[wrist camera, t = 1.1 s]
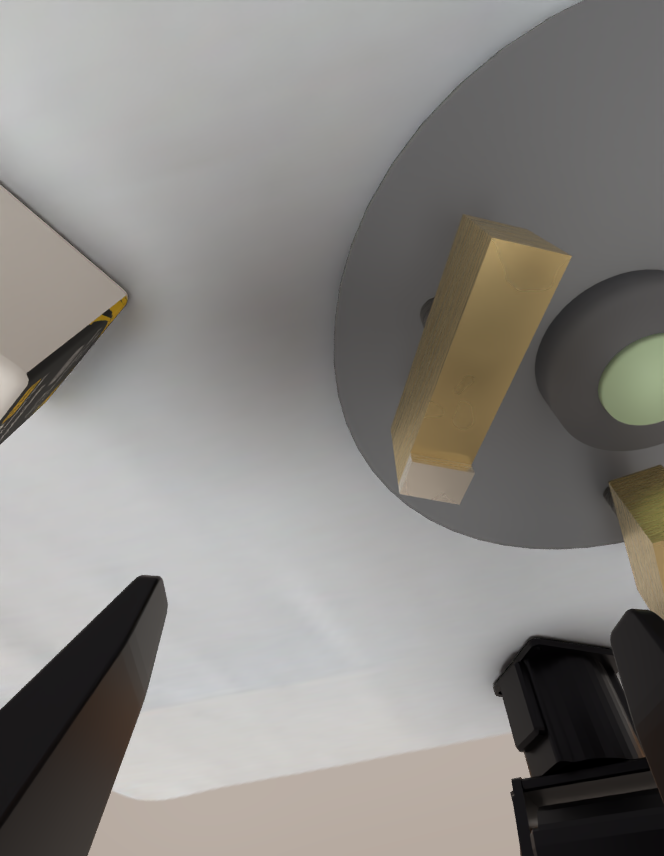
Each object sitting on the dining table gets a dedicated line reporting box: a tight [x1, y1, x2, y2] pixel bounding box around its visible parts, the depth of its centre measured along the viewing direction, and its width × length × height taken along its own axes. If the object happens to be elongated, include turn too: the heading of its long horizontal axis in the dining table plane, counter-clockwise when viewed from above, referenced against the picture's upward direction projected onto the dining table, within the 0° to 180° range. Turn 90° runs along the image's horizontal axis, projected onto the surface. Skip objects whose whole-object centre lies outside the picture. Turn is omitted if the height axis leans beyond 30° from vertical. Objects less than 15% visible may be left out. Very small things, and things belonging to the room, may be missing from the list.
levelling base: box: [334, 0, 664, 549], centre depth 16 cm, size 21×21×4 cm
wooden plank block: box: [391, 214, 572, 505], centre depth 14 cm, size 2×7×6 cm, turn 168°
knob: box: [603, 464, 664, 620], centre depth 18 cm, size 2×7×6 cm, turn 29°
